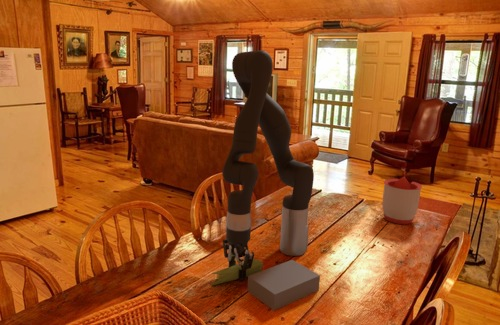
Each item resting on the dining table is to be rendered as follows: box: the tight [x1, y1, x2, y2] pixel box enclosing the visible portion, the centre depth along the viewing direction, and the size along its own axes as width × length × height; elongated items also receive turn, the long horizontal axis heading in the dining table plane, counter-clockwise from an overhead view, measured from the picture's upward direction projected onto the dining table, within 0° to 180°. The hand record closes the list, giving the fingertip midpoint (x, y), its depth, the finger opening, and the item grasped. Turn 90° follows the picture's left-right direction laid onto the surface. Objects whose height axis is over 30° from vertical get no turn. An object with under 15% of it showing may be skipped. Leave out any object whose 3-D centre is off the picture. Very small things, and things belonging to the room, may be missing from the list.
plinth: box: [247, 259, 321, 311], centre depth 121 cm, size 18×12×5 cm, turn 128°
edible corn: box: [209, 258, 264, 287], centre depth 127 cm, size 5×20×5 cm
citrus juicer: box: [382, 176, 423, 225], centre depth 180 cm, size 16×17×20 cm
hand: (237, 275), depth 128 cm, fingers closed on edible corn, 4 cm apart
